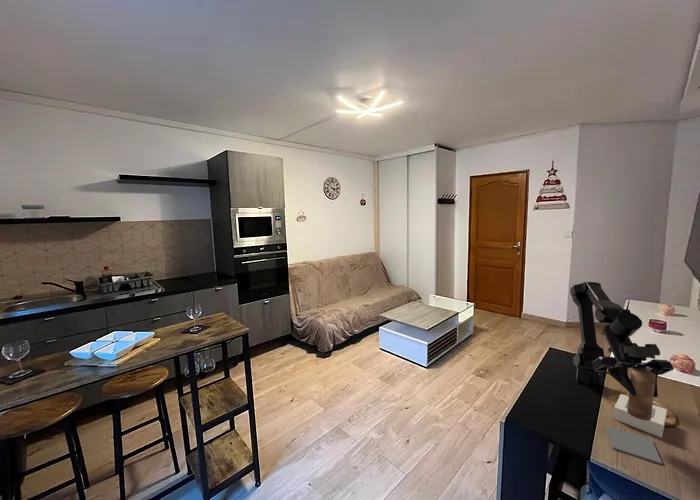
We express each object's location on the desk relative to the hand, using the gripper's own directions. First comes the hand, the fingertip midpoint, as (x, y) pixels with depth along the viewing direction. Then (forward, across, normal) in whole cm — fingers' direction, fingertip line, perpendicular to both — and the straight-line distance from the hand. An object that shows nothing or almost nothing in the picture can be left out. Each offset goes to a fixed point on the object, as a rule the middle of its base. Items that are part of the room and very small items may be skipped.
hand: (645, 396), depth 85 cm
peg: (+4, 0, +6) cm, 7 cm away
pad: (+11, -3, +9) cm, 15 cm away
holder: (+2, +7, +17) cm, 19 cm away
